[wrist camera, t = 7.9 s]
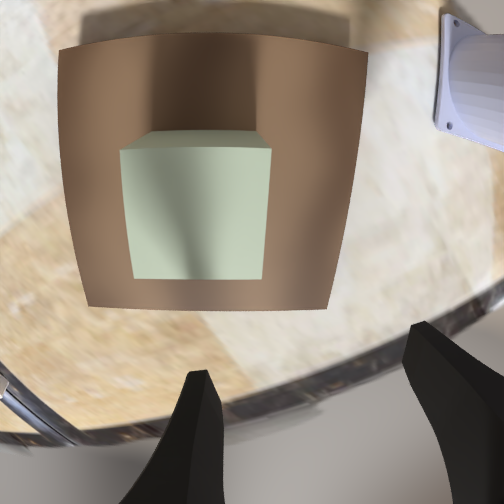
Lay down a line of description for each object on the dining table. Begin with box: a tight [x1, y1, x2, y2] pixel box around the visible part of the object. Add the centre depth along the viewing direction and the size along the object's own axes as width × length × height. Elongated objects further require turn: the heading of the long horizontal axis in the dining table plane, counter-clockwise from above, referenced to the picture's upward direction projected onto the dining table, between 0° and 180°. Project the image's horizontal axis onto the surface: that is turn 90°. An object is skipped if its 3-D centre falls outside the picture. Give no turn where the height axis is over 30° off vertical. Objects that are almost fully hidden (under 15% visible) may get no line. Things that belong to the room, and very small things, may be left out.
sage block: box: [120, 130, 272, 280], centre depth 12 cm, size 4×4×4 cm
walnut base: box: [57, 33, 368, 311], centre depth 15 cm, size 14×14×2 cm
